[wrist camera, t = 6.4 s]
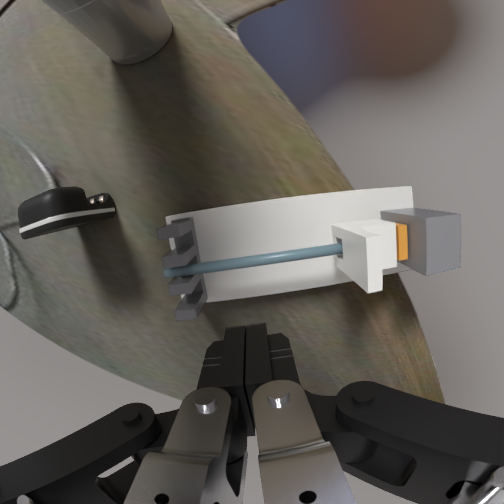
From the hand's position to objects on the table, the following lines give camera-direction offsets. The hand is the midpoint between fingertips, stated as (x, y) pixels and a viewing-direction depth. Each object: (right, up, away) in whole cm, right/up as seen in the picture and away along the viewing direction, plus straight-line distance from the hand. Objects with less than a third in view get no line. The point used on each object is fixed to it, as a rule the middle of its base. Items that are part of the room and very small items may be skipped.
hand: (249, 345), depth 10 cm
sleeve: (+10, +5, +16) cm, 19 cm away
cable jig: (+6, +5, +20) cm, 21 cm away
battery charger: (-19, +9, +19) cm, 29 cm away
